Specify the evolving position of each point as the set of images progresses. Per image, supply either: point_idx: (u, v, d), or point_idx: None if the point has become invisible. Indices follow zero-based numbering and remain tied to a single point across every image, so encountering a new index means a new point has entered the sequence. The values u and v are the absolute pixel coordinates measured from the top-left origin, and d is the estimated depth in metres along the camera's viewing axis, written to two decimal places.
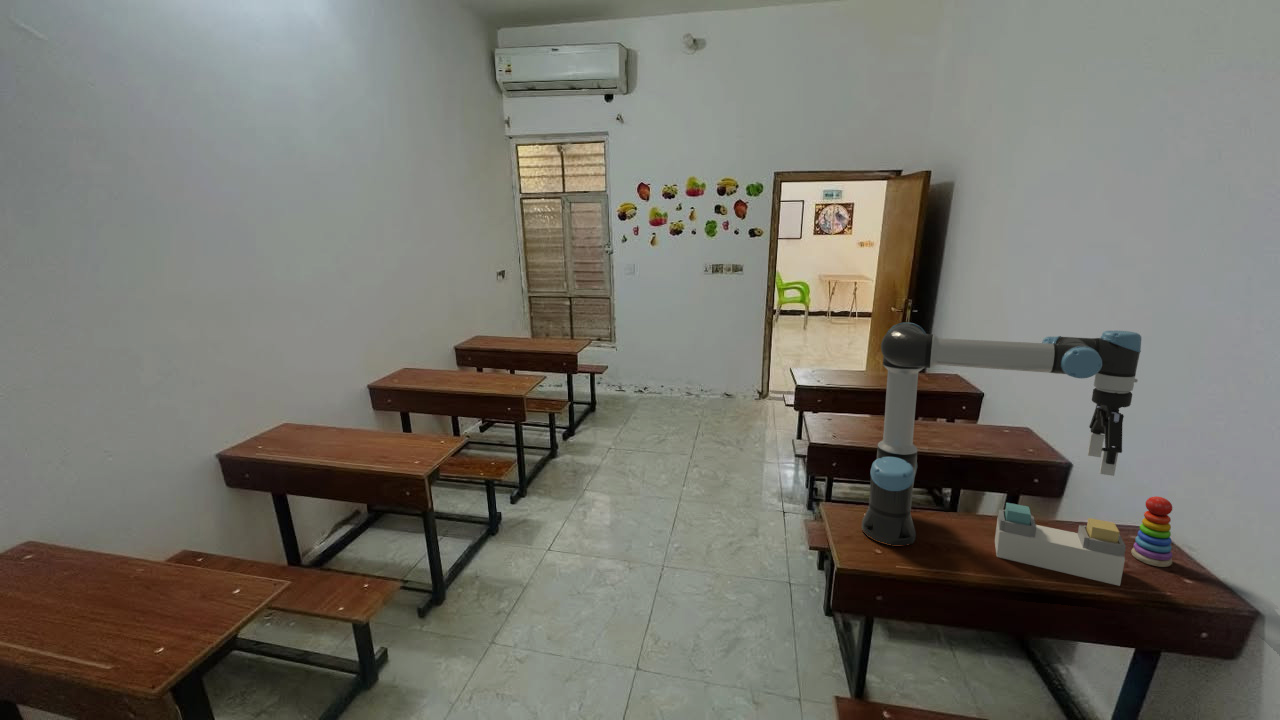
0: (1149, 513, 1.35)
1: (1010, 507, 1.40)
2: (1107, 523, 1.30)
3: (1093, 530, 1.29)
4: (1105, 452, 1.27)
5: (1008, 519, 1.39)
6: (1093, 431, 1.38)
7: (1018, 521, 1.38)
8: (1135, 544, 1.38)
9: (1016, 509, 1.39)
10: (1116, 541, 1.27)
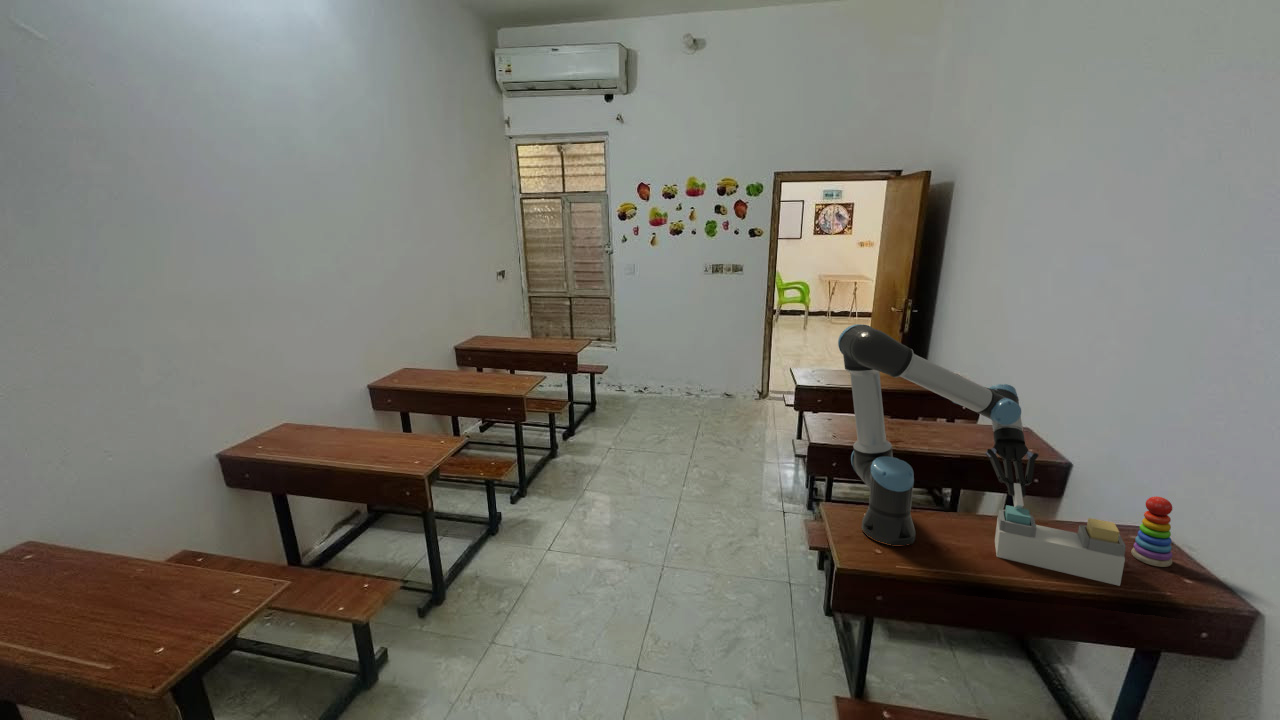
0: (1149, 513, 1.35)
1: (1010, 510, 1.40)
2: (1107, 523, 1.30)
3: (1093, 530, 1.29)
4: None
5: None
6: None
7: None
8: (1135, 544, 1.38)
9: (1015, 512, 1.39)
10: (1116, 541, 1.27)
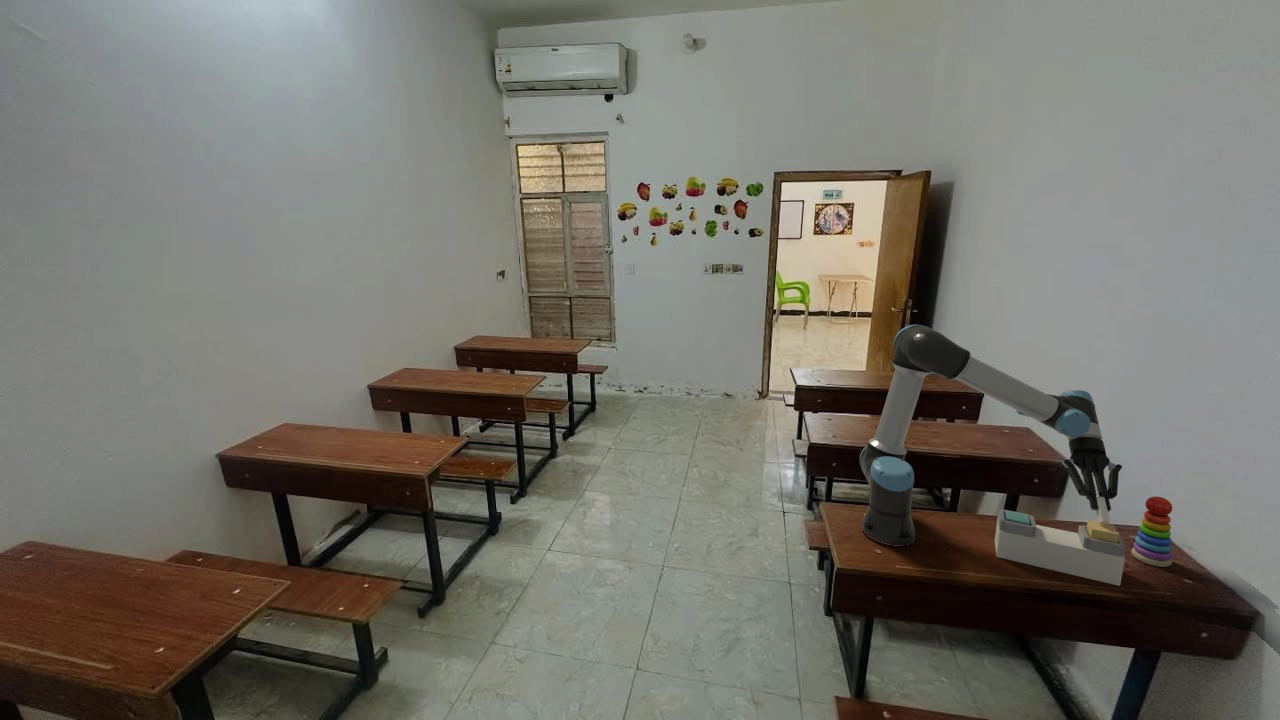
0: (1149, 513, 1.35)
1: (1009, 515, 1.41)
2: (1107, 525, 1.30)
3: (1093, 532, 1.29)
4: None
5: None
6: (1096, 494, 1.33)
7: None
8: (1135, 544, 1.38)
9: (1015, 518, 1.39)
10: None
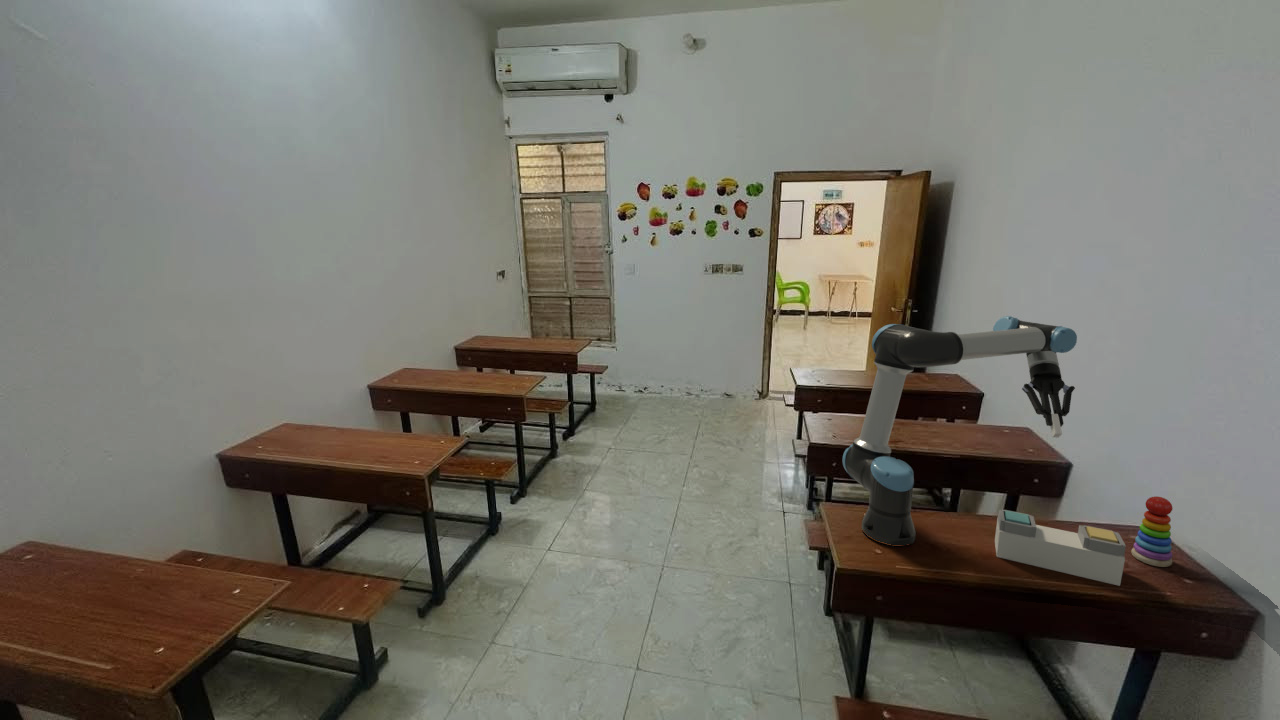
0: (1149, 513, 1.35)
1: (1009, 515, 1.41)
2: (1106, 531, 1.31)
3: None
4: None
5: None
6: None
7: None
8: (1135, 544, 1.38)
9: (1015, 518, 1.39)
10: None
